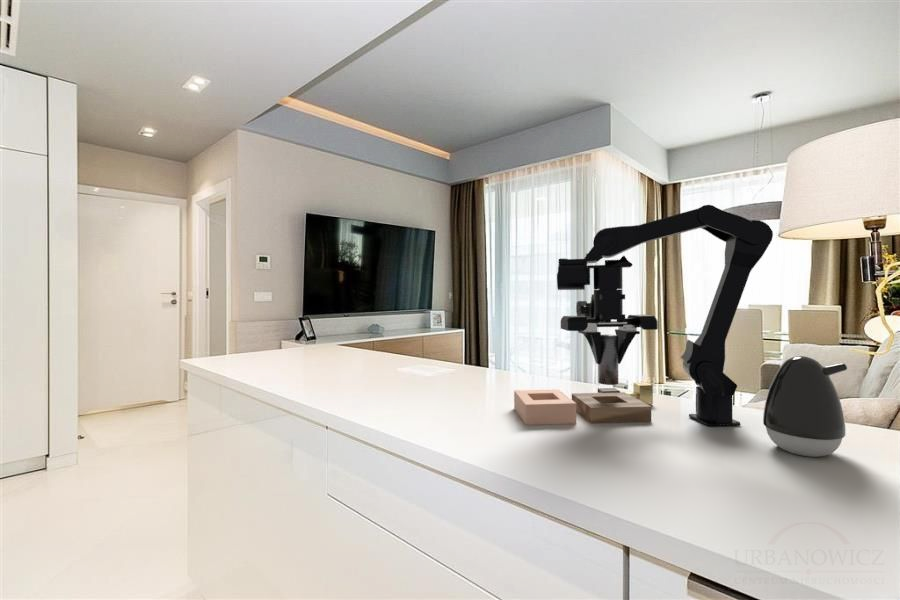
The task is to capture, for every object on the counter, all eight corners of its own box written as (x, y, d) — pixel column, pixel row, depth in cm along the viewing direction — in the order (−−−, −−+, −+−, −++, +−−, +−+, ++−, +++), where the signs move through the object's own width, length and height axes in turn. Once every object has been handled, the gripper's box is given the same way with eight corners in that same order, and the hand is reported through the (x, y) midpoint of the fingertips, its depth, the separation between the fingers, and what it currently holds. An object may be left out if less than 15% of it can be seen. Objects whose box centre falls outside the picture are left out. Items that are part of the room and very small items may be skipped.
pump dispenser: (855, 469, 62) (856, 363, 62) (765, 455, 67) (765, 358, 67) (838, 446, 71) (839, 354, 70) (760, 436, 76) (760, 350, 76)
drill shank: (621, 384, 89) (621, 336, 89) (602, 385, 89) (602, 336, 89) (613, 380, 93) (613, 334, 93) (595, 381, 93) (595, 334, 93)
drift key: (652, 404, 97) (652, 385, 97) (604, 405, 97) (604, 386, 97) (646, 400, 100) (646, 382, 100) (599, 401, 100) (599, 383, 100)
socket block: (651, 421, 85) (651, 404, 85) (591, 423, 85) (591, 406, 85) (619, 402, 100) (618, 388, 100) (567, 403, 100) (567, 389, 100)
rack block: (576, 423, 85) (576, 403, 85) (525, 424, 84) (525, 404, 84) (558, 407, 97) (558, 389, 97) (514, 408, 96) (514, 390, 96)
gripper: (633, 289, 99) (633, 357, 99) (553, 290, 98) (553, 358, 99) (659, 289, 88) (659, 365, 88) (568, 290, 87) (569, 367, 87)
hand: (608, 363), depth 91 cm, fingers closed on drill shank, 4 cm apart
